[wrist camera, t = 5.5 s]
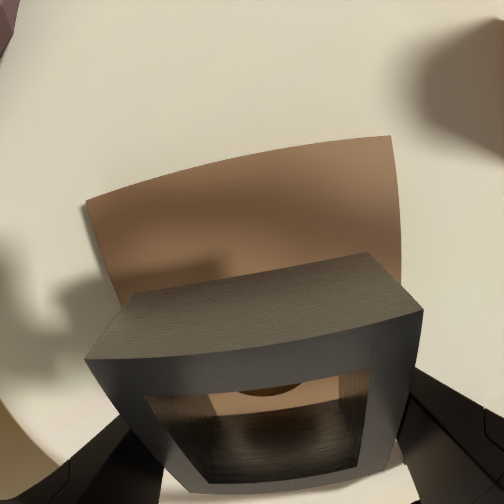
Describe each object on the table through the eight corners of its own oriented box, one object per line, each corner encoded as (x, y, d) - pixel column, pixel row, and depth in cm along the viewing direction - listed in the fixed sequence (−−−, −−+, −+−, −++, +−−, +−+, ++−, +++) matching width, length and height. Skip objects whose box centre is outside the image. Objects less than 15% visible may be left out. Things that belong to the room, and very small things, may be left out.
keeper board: (376, 426, 17) (394, 477, 12) (212, 452, 18) (206, 506, 13) (378, 136, 11) (449, 132, 6) (98, 196, 12) (26, 223, 7)
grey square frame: (363, 407, 9) (384, 469, 6) (200, 430, 10) (189, 492, 7) (367, 251, 7) (423, 309, 4) (134, 293, 7) (84, 359, 5)
